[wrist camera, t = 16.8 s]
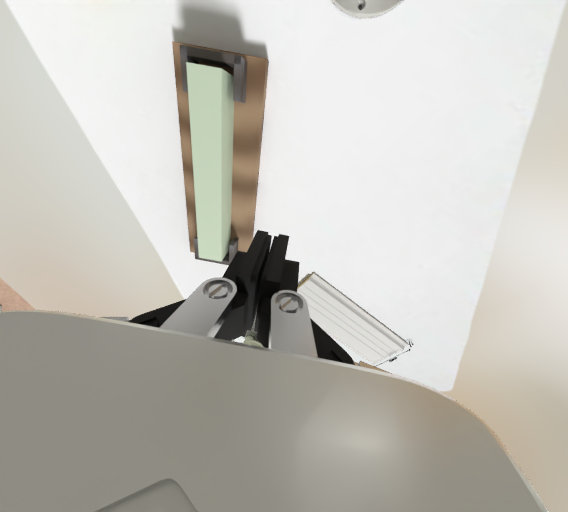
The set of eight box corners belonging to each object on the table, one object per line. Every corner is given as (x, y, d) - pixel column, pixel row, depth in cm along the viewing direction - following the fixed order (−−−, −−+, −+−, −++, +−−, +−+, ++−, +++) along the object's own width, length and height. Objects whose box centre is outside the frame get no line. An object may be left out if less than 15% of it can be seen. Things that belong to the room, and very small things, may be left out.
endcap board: (178, 45, 28) (158, 32, 24) (268, 61, 28) (262, 51, 24) (193, 248, 44) (182, 259, 41) (251, 258, 44) (245, 271, 41)
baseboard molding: (318, 266, 45) (282, 298, 50) (319, 274, 42) (281, 307, 48) (412, 338, 52) (372, 359, 58) (417, 349, 50) (374, 369, 56)
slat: (204, 71, 28) (186, 62, 24) (234, 77, 28) (221, 68, 24) (210, 244, 42) (198, 257, 38) (230, 247, 42) (221, 261, 38)
